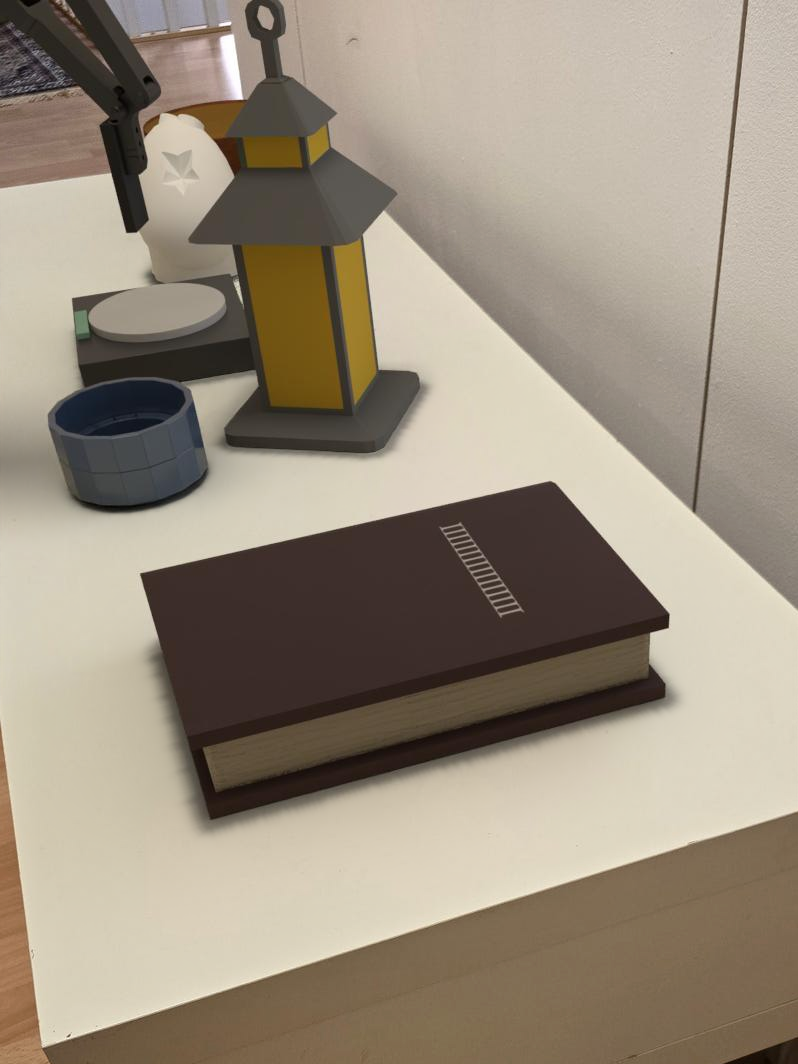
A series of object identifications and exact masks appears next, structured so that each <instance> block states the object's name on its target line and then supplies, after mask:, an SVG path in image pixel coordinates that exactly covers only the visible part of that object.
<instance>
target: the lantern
mask: <svg viewBox="0 0 798 1064" xmlns="http://www.w3.org/2000/svg"><path fill="white" fill-rule="evenodd" d="M260 7H264V8H266V9H268V10H269V12H270V14H271V16H272V18H273V23H272V27H271V29H268V28H266V27H264V26H263V25H262V23H261V21H260V19H259V17H258V15H259V10H260ZM244 15H245V20H246V27H247V31H248V33H249V35H250V38H252V39H255V40H257V41H259V42H260V43H259V44H260V50H261V54H262V62H263V68H264V74H265V78H264V79H263V80H261V81H260V82H258V83H257V84H256V86H255V87H254V89H253V90H252V92H251V93H250V94H249V96H248V97H247V99H246V100H247V101H246V103H245V104H244V106H243V107H242V109H241V110H240V112H239V114H238V115H237V117H236V118H235V120H234V121H233V123H232V124H231V126H230V127H229V129H228V130H227V132H226V134H225V137H236V141H237V147H238V153H239V158H240V164H241V168H240V170H239V171H238V173H237V174H236V176H235V177H234V179H233V180H232V181H231V183H230V184H229V185H228V187H227V188H226V189H225V190H224V192H223V193H222V194H221V196H220V197H219V198H218V200H217V201H216V202H215V204H214V205H213V206H212V208H211V209H210V210H209V212H208V213H207V214H206V215H205V217H204V218H203V219H202V221H201V222H200V223H199V225H198V226H197V227H196V229H195V230H194V231H193V233H192V234H191V235H190V237H189V238H188V241H189V243H193V244H216V245H232V247H233V253H234V258H235V263H236V268H237V274H238V275H237V278H238V283H239V289H240V290H239V291H240V294H241V300H242V306H243V308H244V311H245V316H246V322H247V327H248V332H249V338H250V343H251V348H252V354H253V359H254V364H255V369H254V370H255V374H256V380H257V385H258V386H257V387H256V389H254V391H253V392H252V393H251V394H250V396H249V397H248V398H247V399H246V401H245V402H244V403H243V404H242V405H241V406H240V408H239V409H238V410H237V411H236V413H235V414H234V415H233V416H232V417H231V419H230V420H229V422H228V423H227V424H226V425H225V426H224V427H223V431H224V435H225V440H226V444H227V445H230V446H233V447H241V448H242V447H243V448H244V447H245V448H261V449H264V448H265V449H283V450H284V449H285V450H302V451H303V450H304V451H305V450H306V451H322V452H323V451H325V452H327V451H328V452H345V453H346V452H347V453H373V452H377V451H378V450H380V449H383V448H384V447H385V446H386V445H387V443H388V442H389V440H390V438H391V437H392V434H393V433H394V431H395V430H396V428H397V427H398V425H399V423H400V422H401V420H402V419H403V417H404V415H405V413H406V412H407V410H408V408H409V406H410V405H411V403H412V402H413V400H414V398H415V397H416V395H417V393H418V392H419V390H420V389H421V383H420V376H419V375H418V373H417V372H415V371H411V370H397V369H395V370H394V369H379V359H378V352H377V350H378V349H377V343H376V334H375V325H374V318H373V317H374V316H373V308H372V299H371V292H370V284H369V283H370V282H369V275H368V274H369V273H368V266H367V258H366V249H365V241H364V239H365V238H364V234H365V233H366V232H367V231H368V229H369V228H370V227H371V226H372V225H373V224H374V222H375V221H376V220H377V219H378V217H379V216H380V215H381V214H382V213H383V212H384V211H385V210H386V208H387V207H388V206H390V204H391V203H392V202H393V200H394V199H395V198H396V197H397V196H398V192H397V191H396V189H394V188H392V187H391V186H389V185H388V184H386V183H385V182H383V180H380V179H379V178H378V177H376V176H375V175H374V174H372V173H370V172H369V171H368V170H366V169H365V168H363V167H361V166H360V165H358V164H357V163H356V162H354V161H353V160H351V159H350V158H348V157H347V156H345V155H344V154H342V153H341V152H339V151H338V150H336V149H335V148H334V147H332V144H331V143H332V142H331V137H330V128H329V122H330V121H331V120H332V119H333V118H334V117H335V116H337V115H338V112H337V111H336V110H335V109H333V108H332V107H331V106H329V105H328V104H327V103H326V102H325V101H323V100H322V99H321V98H320V97H318V96H317V95H315V93H313V92H312V91H310V90H309V89H308V88H307V87H306V86H304V85H303V84H301V83H300V82H299V81H298V80H297V79H296V78H294V77H292V76H290V75H285V74H284V73H283V66H282V60H281V58H282V57H281V51H280V45H279V38H280V37H282V36H284V35H285V34H286V29H287V21H286V15H285V7H284V4H282V2H281V1H280V0H250V1H249V2H248V3H247V4H246V6H245V9H244Z"/></svg>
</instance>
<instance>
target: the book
mask: <svg viewBox="0 0 798 1064" xmlns="http://www.w3.org/2000/svg"><path fill="white" fill-rule="evenodd" d="M139 575H140V576H139V577H140V579H141V583H142V587H143V590H144V593H145V596H146V600H147V604H148V608H149V611H150V614H151V619H152V621H153V625H154V628H155V632H156V635H157V639H158V642H159V645H160V649H161V652H162V656H163V660H164V662H165V666H166V669H167V673H168V677H169V680H170V684H171V687H172V691H173V694H174V698H175V701H176V704H177V708H178V711H179V714H180V718H181V722H182V726H183V729H184V733H185V736H186V739H187V743H188V747H189V749H190V754H191V757H192V761H193V764H194V767H195V771H196V774H197V778H198V781H199V784H200V788H201V792H202V795H203V798H204V802H205V805H206V808H207V813H208V815H209V819H210V820H213V819H217V818H221V817H223V816H224V817H225V816H228V815H231V814H235V813H239V812H244V811H246V810H250V809H255V808H257V807H262V806H265V805H268V804H273V803H276V802H281V801H284V800H288V799H291V798H294V797H299V796H302V795H306V794H309V793H313V792H318V791H320V790H321V791H322V790H325V789H328V788H332V787H336V786H340V785H343V784H347V783H351V782H354V781H358V780H361V779H366V778H368V777H372V776H373V777H374V776H377V775H381V774H384V773H387V772H393V771H395V770H399V769H402V768H406V767H410V766H414V765H417V764H421V763H425V762H428V761H429V762H430V761H433V760H436V759H439V758H444V757H447V756H451V755H455V754H458V753H462V752H465V751H470V750H473V749H477V748H481V747H484V746H488V745H492V744H496V743H499V742H503V741H507V740H511V739H514V738H518V737H522V736H525V735H530V734H533V733H536V732H540V731H544V730H547V729H552V728H555V727H559V726H562V725H563V726H564V725H567V724H569V723H574V722H576V721H581V720H585V719H588V718H591V717H596V716H599V715H603V714H607V713H611V712H615V711H618V710H622V709H626V708H630V707H633V706H636V705H637V706H638V705H641V704H644V703H647V702H651V701H655V700H659V699H663V698H666V687H667V686H666V685H667V684H666V682H665V681H664V679H662V677H661V676H660V675H659V673H658V672H657V671H656V670H655V668H654V667H653V666H652V665H651V663H650V647H651V634H652V633H655V632H660V631H664V630H667V629H670V616H671V614H670V612H669V611H668V609H666V607H665V606H664V605H663V604H662V603H661V602H660V601H659V599H657V597H656V596H655V595H654V593H652V592H651V590H650V589H648V587H647V586H646V585H645V583H643V581H642V580H641V579H640V578H639V577H638V576H637V575H636V573H635V572H634V571H633V570H632V568H631V567H630V566H629V565H628V564H627V563H626V562H625V561H624V560H623V558H622V557H621V556H620V555H619V554H618V552H616V550H614V549H613V546H611V545H610V543H608V541H607V540H606V539H605V538H604V537H603V535H602V534H601V533H600V532H599V531H598V530H597V528H596V527H594V525H593V524H592V523H591V522H590V521H589V519H588V518H587V517H586V516H585V515H584V514H583V512H581V510H580V509H579V508H578V507H577V506H576V505H575V504H574V502H573V501H572V500H571V499H570V498H569V496H568V495H567V494H566V493H565V492H564V491H563V490H562V489H561V487H560V486H559V485H558V484H557V483H556V482H554V481H552V480H548V481H544V482H540V483H535V484H529V485H526V486H522V487H518V488H513V489H508V490H504V491H500V492H499V491H498V492H494V493H491V494H486V495H482V496H476V497H472V498H469V499H465V500H460V501H459V500H458V501H456V502H455V501H454V502H449V503H446V504H441V505H437V506H433V507H429V508H425V509H424V508H423V509H420V510H415V511H411V512H406V513H402V514H398V515H393V516H389V517H384V518H380V519H374V520H371V521H366V522H362V523H357V524H353V525H348V526H345V527H339V528H335V529H330V530H327V531H321V532H317V533H313V534H309V535H304V536H300V537H296V538H295V537H294V538H291V539H287V540H286V539H285V540H282V541H278V542H273V543H268V544H264V545H260V546H255V547H250V548H247V549H242V550H238V551H233V552H229V553H225V554H219V555H215V556H211V557H207V558H203V559H197V560H193V561H188V562H185V563H184V562H183V563H180V564H176V565H171V566H165V567H162V568H157V569H154V570H149V571H144V572H141V573H139Z"/></svg>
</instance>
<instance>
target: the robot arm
mask: <svg viewBox="0 0 798 1064" xmlns="http://www.w3.org/2000/svg"><path fill="white" fill-rule="evenodd" d="M64 1H65V3H66V4H67V5H68V7H69V9H70V10H71V11H72V13H73V15H74V16H75V17H76V19H77V21H78V22H79V24H80V25H81V27H82V28H83V30H84V31H85V34H87V36H88V37H89V39H90V40H91V42H92V43H93V45H94V46H95V48H96V49H97V51H98V53H99V54H100V55H101V57H102V59H103V60H104V61H105V63H106V65H107V66H108V67H107V66H106V65H105V64H104V63H103V61H102V60H100V59H99V57H97V55H95V53H94V52H93V51H92V50H91V49H90V48H89V47H88V46H87V45H86V44H85V43H84V42H83V41H82V40H81V39H80V38H79V37H78V35H76V34H75V32H74V31H72V29H71V28H70V27H69V26H68V25H67V24H66V23H65V22H64V21H63V20H62V19H61V18H60V16H58V15H57V14H56V13H55V11H54V8H53V6H52V5H51V3H50V2H49V1H48V0H0V29H3V28H5V27H6V26H8V25H10V24H12V25H13V26H14V27H15V28H16V29H17V30H18V31H19V32H21V33H22V34H24V35H26V36H28V37H30V38H31V39H32V40H33V41H34V43H36V45H37V46H39V47H40V48H41V50H43V51H44V52H45V53H46V54H47V55H48V56H49V57H50V59H51V60H52V61H54V63H55V64H56V65H58V67H60V69H61V70H63V72H64V73H66V75H67V76H69V78H70V79H71V80H72V81H73V82H74V83H75V84H76V85H77V86H78V87H79V88H80V89H81V90H82V91H83V92H84V93H85V94H86V95H87V96H88V97H89V98H90V99H91V100H92V101H93V102H94V103H95V104H96V105H97V106H98V107H99V108H100V109H101V111H103V113H105V114H106V116H108V117H107V118H106V119H105V120H104V121H103V122H101V123H100V124H98V127H99V130H100V134H101V138H102V143H103V146H104V150H105V155H106V159H107V162H108V166H109V171H110V174H111V179H112V182H113V186H114V190H115V194H116V198H117V202H118V207H119V210H120V214H121V218H122V223H123V226H124V229H125V233H126V234H138V232H139V230H140V229H141V228H142V227H143V226H144V225H145V224H146V223H147V222H148V221H149V217H148V213H147V209H146V205H145V200H144V196H143V192H142V188H141V183H140V179H139V175H140V174H141V173H143V172H144V171H145V170H146V169H147V163H148V158H147V154H146V151H145V145H144V137H143V132H142V128H141V124H140V120H139V115H140V112H141V111H143V110H145V109H148V107H150V106H151V105H152V104H154V103H155V102H156V101H157V100H158V99H159V98H160V97H161V94H162V87H161V85H160V83H159V82H158V80H157V79H156V76H155V75H154V73H153V72H152V70H151V69H150V68H149V66H148V64H147V63H146V62H145V60H144V58H143V56H142V55H141V54H140V52H139V51H138V49H137V47H136V46H135V44H134V43H133V41H132V40H131V38H130V36H129V34H128V33H127V32H126V31H125V29H124V27H123V26H122V24H121V23H120V21H119V20H118V18H117V16H116V15H115V13H114V12H113V9H112V8H111V7H110V5H109V4H108V2H107V1H106V0H64Z"/></svg>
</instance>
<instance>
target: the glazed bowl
mask: <svg viewBox="0 0 798 1064" xmlns="http://www.w3.org/2000/svg"><path fill="white" fill-rule="evenodd" d="M46 415H47V426H48V430H49V433H50V436H51V440H52V443H53V446H54V449H55V451H56V456H57V458H58V462H59V465H60V468H61V471H62V474H63V479H64V480H65V484H66V487H67V490H68V492H70V493H71V494H73V495H74V496H75V497H76V498H77V499H78V500H80V501H84V502H87V503H90V504H96V505H98V506H113V507H131V506H139V505H146V504H150V503H154V502H157V501H160V500H164V499H166V498H168V497H171V496H174V495H175V494H177V493H179V492H183V490H186V489H187V488H189V486H191V485H192V484H194V483H196V481H198V480H200V479H201V478H202V476H203V474H204V473H205V471H206V469H207V468H208V466H209V462H208V457H207V453H206V449H205V444H204V439H203V435H202V429H201V426H200V422H199V418H198V412H197V408H196V404H195V400H194V396H193V393H192V390H191V389H190V388H189V387H187V386H186V385H184V384H182V383H181V382H177V381H173V380H168V379H163V378H157V377H132V378H124V379H118V380H112V381H106V382H101V383H98V384H95V385H92V386H89V387H86V388H85V387H83V388H80V389H77V390H75V391H74V392H72V393H70V394H68V395H67V396H65V397H63V398H61V399H59V400H58V401H57V402H56V403H55V404H54V405H53V407H52V408H51V409H50V410H49V411H48V413H47V414H46Z"/></svg>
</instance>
